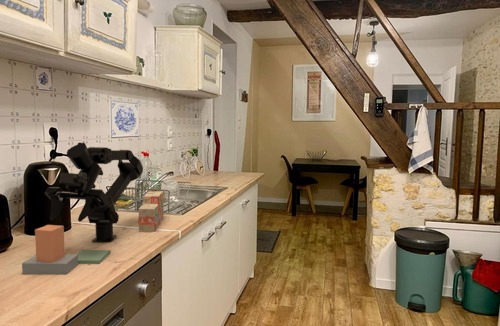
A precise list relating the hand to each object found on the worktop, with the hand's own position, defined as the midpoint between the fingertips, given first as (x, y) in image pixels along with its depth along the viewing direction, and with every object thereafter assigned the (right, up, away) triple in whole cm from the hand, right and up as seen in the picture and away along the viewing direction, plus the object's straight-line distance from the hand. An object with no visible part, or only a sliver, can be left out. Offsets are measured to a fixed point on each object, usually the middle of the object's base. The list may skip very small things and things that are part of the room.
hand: (65, 220), depth 107 cm
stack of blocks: (+15, -9, +41) cm, 45 cm away
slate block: (-1, -13, -5) cm, 14 cm away
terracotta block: (-1, -10, -5) cm, 12 cm away
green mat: (+6, -12, +4) cm, 14 cm away
